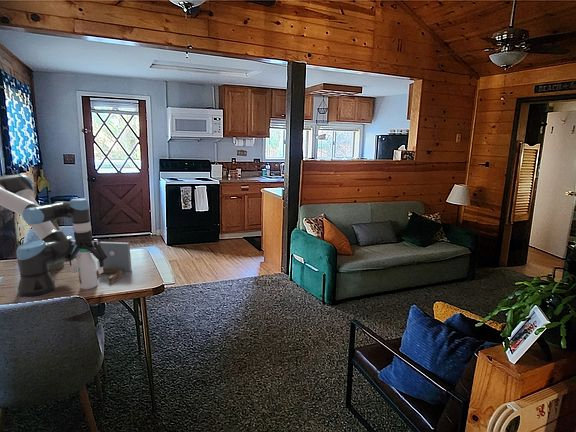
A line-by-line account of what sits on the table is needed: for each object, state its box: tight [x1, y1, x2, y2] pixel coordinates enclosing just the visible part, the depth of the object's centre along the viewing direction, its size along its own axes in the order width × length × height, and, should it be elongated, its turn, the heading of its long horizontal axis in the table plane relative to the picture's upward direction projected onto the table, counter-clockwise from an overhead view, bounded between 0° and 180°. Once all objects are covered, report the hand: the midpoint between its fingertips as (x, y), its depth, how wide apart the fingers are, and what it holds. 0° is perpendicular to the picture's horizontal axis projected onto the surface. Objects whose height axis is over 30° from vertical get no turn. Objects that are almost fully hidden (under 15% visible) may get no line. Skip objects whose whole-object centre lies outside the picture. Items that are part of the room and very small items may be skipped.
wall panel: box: [99, 241, 133, 273], centre depth 206 cm, size 4×16×16 cm, turn 84°
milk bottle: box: [77, 249, 98, 290], centre depth 186 cm, size 8×8×20 cm
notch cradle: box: [96, 268, 125, 285], centre depth 198 cm, size 12×14×3 cm
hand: (87, 272), depth 186 cm, fingers open, 13 cm apart
